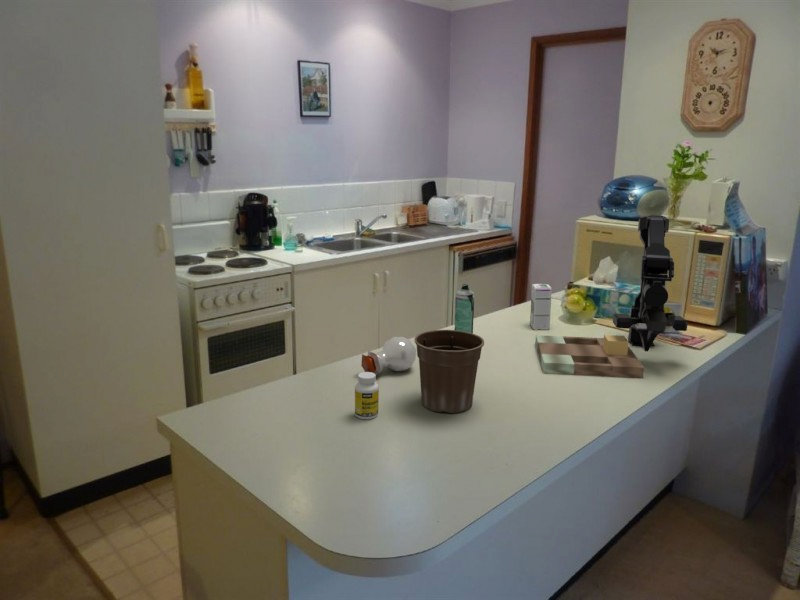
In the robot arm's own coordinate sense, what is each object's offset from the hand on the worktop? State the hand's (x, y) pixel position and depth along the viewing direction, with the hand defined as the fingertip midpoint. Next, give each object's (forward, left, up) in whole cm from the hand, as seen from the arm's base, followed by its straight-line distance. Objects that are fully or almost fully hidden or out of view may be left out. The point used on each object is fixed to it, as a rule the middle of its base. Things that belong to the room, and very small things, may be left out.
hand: (646, 351), depth 175 cm
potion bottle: (+71, +17, -4) cm, 73 cm away
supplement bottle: (+73, +44, -4) cm, 85 cm away
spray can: (+52, -4, -4) cm, 52 cm away
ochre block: (+9, 0, -1) cm, 9 cm away
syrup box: (+27, -30, -4) cm, 40 cm away
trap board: (+17, 0, -4) cm, 17 cm away
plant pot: (+55, +35, -4) cm, 65 cm away
